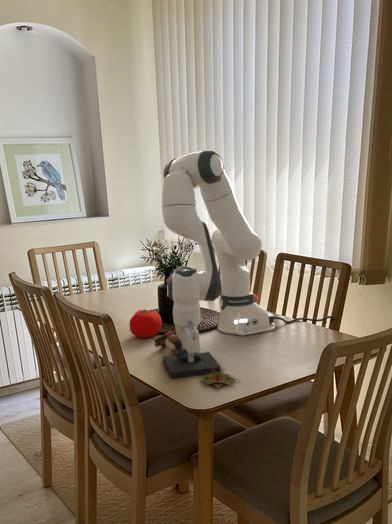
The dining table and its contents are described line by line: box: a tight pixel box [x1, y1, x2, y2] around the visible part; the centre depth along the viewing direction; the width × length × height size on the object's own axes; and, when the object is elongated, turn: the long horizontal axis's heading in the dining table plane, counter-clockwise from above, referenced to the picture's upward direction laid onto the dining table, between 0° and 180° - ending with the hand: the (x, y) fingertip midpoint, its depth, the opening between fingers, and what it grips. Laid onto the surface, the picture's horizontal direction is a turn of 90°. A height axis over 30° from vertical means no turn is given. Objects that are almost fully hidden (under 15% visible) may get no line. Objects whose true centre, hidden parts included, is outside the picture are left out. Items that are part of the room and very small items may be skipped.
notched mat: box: [162, 351, 222, 379], centre depth 179 cm, size 16×14×2 cm
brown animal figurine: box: [153, 330, 183, 356], centre depth 194 cm, size 12×10×8 cm
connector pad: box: [177, 351, 199, 363], centre depth 182 cm, size 6×6×3 cm
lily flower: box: [197, 366, 239, 389], centre depth 167 cm, size 12×12×5 cm
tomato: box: [129, 308, 163, 339], centre depth 208 cm, size 11×13×10 cm
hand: (188, 357), depth 182 cm, fingers closed on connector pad, 6 cm apart
